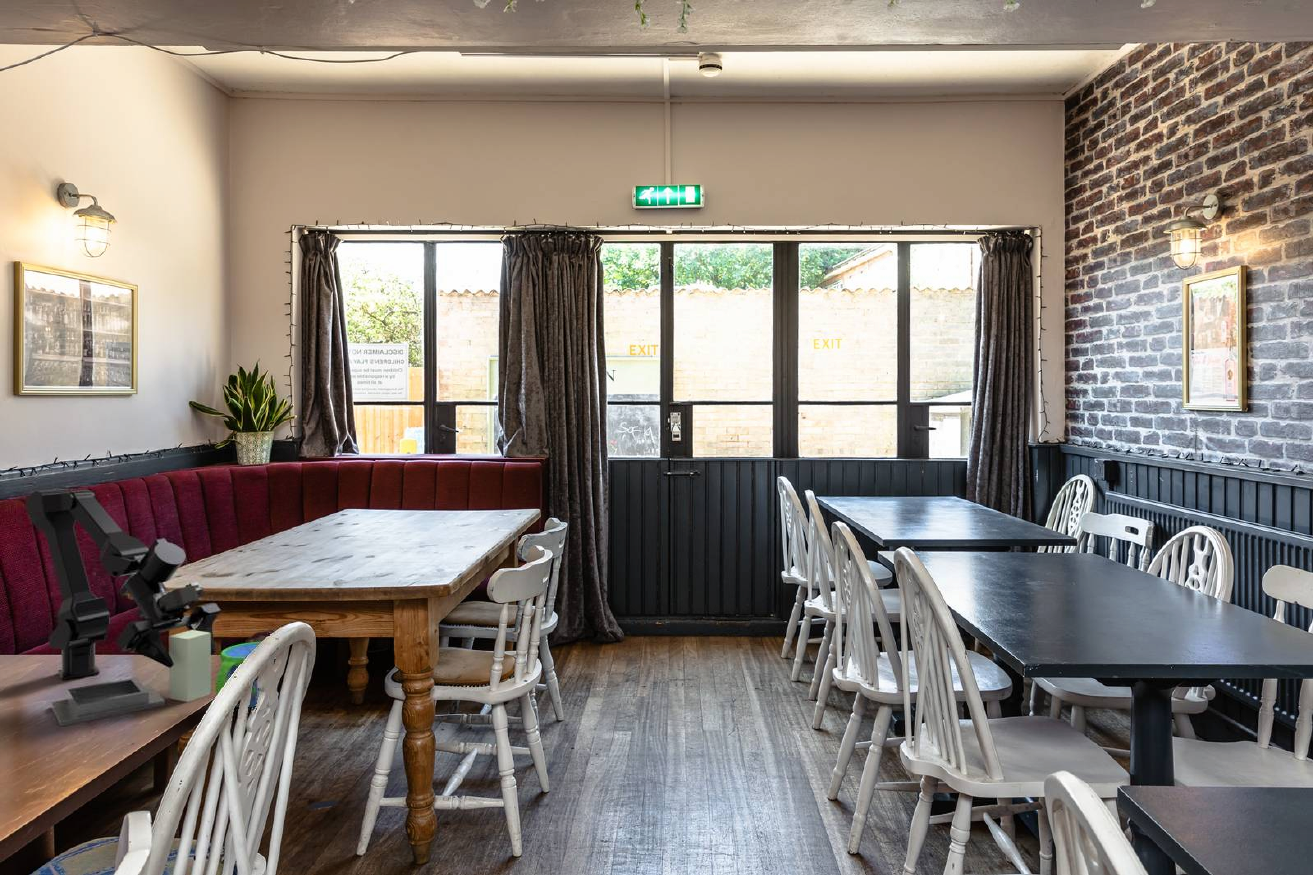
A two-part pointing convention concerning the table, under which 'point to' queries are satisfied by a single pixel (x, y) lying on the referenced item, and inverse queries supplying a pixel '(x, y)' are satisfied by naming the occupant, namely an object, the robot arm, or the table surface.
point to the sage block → (190, 665)
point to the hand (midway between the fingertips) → (193, 659)
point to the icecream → (260, 636)
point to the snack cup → (236, 666)
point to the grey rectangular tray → (105, 701)
